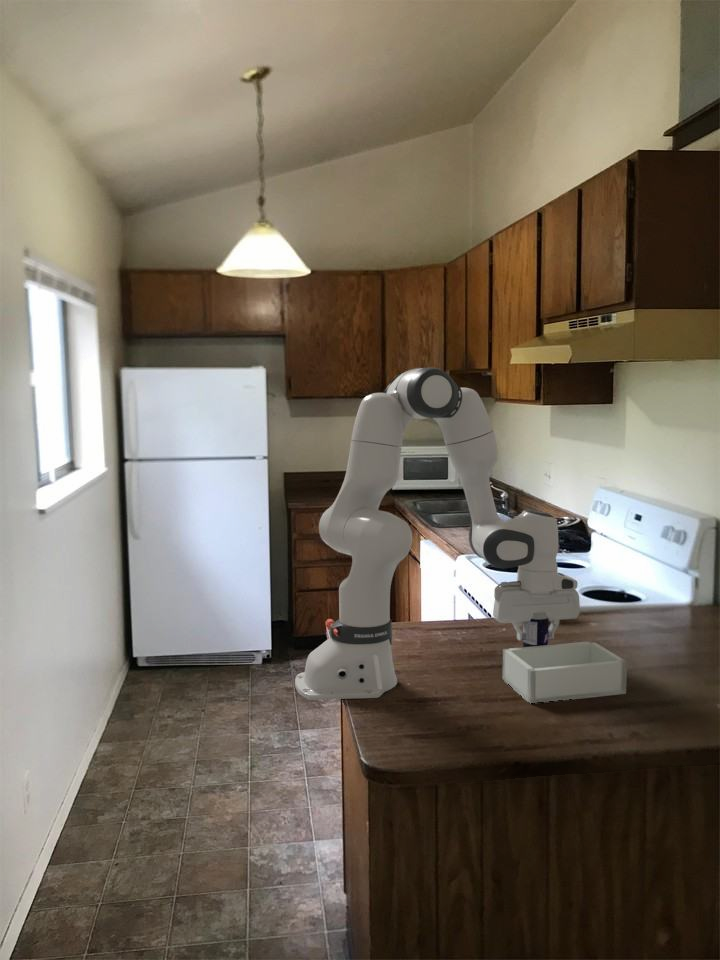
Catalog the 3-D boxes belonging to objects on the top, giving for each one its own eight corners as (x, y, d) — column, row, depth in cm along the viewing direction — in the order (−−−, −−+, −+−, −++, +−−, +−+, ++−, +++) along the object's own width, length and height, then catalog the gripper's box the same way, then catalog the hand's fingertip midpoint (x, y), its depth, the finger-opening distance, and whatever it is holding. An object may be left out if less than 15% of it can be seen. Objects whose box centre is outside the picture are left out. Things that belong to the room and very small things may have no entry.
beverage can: (547, 666, 181) (549, 615, 180) (522, 664, 182) (523, 613, 181) (547, 658, 187) (548, 608, 185) (522, 656, 188) (523, 607, 187)
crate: (529, 704, 163) (530, 671, 162) (502, 679, 177) (502, 649, 176) (626, 693, 168) (627, 661, 168) (592, 670, 182) (592, 641, 181)
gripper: (500, 585, 177) (498, 645, 179) (584, 581, 182) (581, 640, 183) (489, 579, 183) (488, 637, 185) (570, 575, 188) (568, 632, 189)
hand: (535, 638), depth 184 cm, fingers closed on beverage can, 6 cm apart
